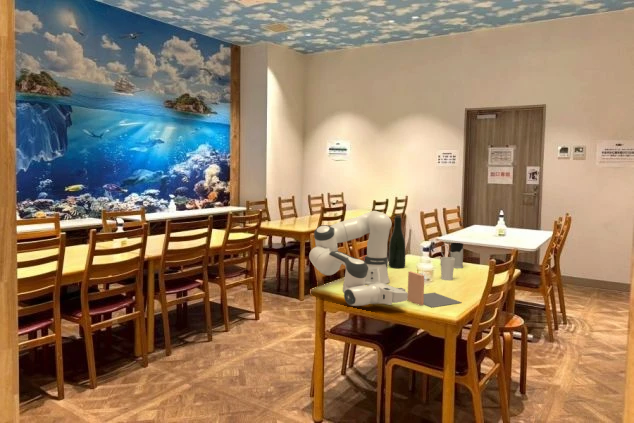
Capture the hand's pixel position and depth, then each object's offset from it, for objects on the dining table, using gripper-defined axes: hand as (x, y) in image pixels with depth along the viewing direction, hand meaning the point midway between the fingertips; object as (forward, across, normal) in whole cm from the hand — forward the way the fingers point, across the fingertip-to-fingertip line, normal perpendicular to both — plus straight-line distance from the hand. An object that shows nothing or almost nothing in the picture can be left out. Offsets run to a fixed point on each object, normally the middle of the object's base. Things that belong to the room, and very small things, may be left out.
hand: (403, 290), depth 233 cm
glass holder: (+80, -57, -7) cm, 99 cm away
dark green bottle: (+48, -71, -7) cm, 86 cm away
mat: (+18, 0, -7) cm, 19 cm away
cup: (+54, -32, -7) cm, 63 cm away
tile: (+7, 0, -7) cm, 10 cm away
